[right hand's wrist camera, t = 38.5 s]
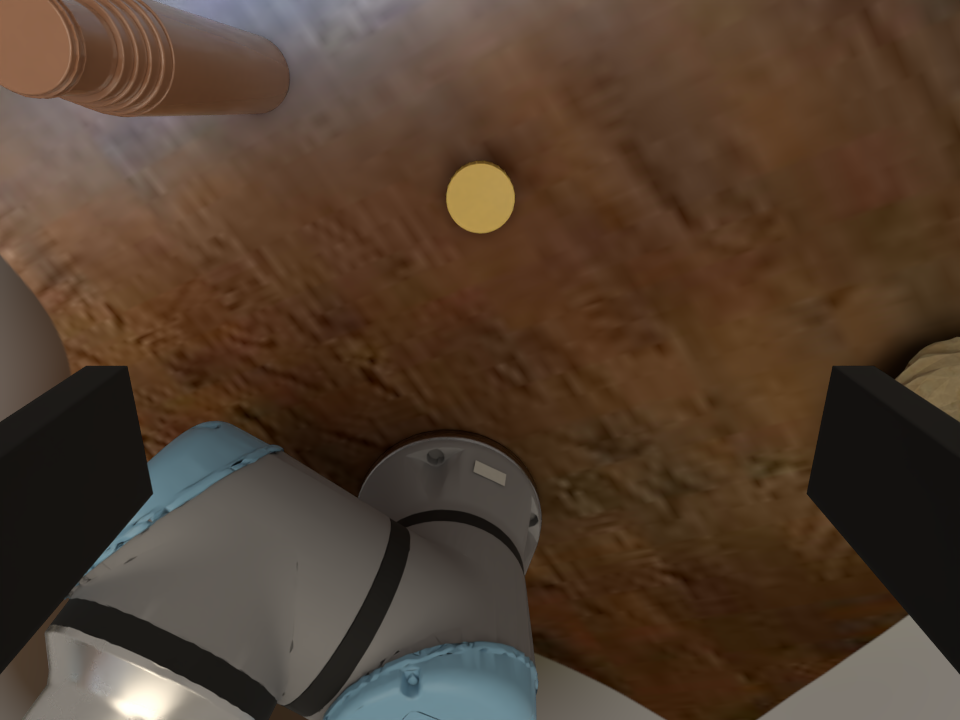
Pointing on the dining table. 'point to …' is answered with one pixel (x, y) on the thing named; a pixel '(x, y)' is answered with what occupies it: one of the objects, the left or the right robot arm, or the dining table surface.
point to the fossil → (936, 375)
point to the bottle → (137, 59)
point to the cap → (480, 197)
